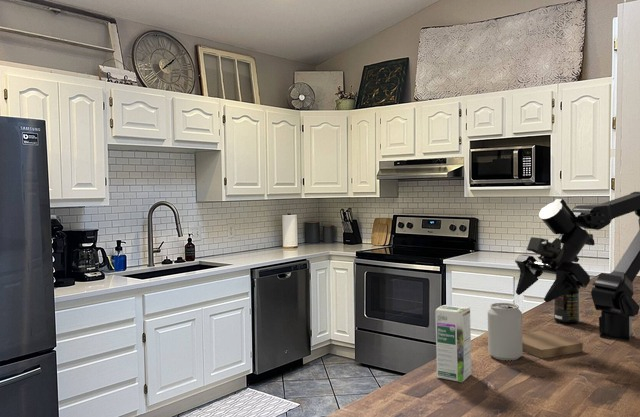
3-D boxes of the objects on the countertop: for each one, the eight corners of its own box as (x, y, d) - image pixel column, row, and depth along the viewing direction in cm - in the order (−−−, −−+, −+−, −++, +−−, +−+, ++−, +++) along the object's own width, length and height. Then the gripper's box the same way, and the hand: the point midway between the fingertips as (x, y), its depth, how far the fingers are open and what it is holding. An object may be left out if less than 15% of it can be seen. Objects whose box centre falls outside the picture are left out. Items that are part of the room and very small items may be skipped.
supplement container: (585, 322, 148) (584, 285, 147) (570, 326, 144) (569, 288, 144) (563, 317, 153) (563, 282, 153) (548, 321, 150) (547, 285, 150)
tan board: (544, 337, 135) (544, 330, 134) (582, 351, 123) (582, 342, 123) (505, 344, 131) (505, 336, 130) (541, 358, 119) (541, 350, 119)
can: (525, 362, 117) (524, 309, 117) (490, 361, 119) (489, 308, 118) (519, 351, 125) (518, 301, 124) (486, 350, 126) (485, 301, 126)
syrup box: (435, 378, 110) (434, 309, 109) (446, 369, 115) (444, 303, 114) (462, 383, 107) (460, 312, 106) (472, 374, 111) (470, 306, 111)
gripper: (520, 222, 134) (484, 269, 130) (579, 227, 116) (540, 281, 113) (545, 251, 137) (511, 298, 133) (607, 260, 119) (569, 314, 116)
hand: (530, 297), depth 124 cm, fingers open, 9 cm apart
